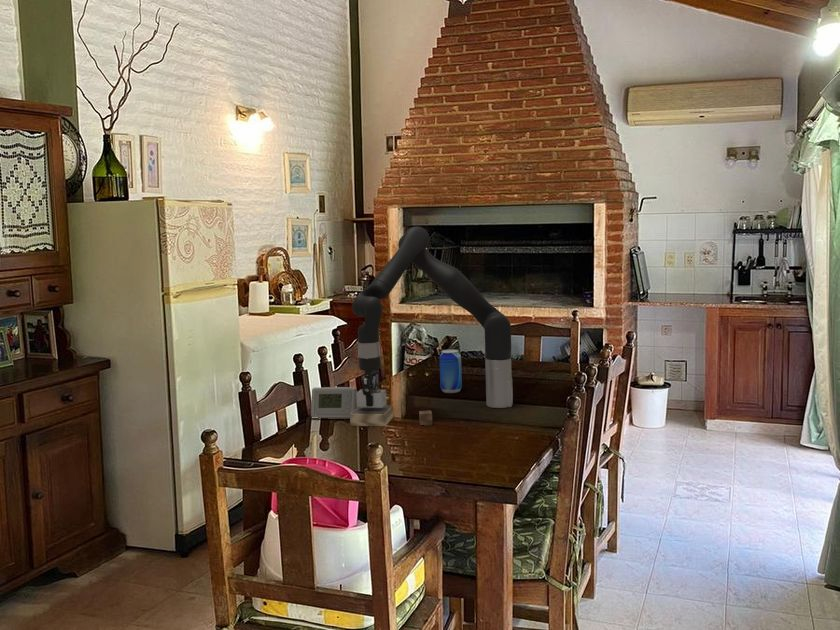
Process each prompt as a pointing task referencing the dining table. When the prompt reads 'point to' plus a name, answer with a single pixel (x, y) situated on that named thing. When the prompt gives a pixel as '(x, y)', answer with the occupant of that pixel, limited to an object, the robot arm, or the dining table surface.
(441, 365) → the beer can
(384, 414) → the stand
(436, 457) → the dining table surface
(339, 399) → the digital clock
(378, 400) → the housing
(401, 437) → the dining table surface
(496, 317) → the robot arm
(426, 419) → the walnut block
